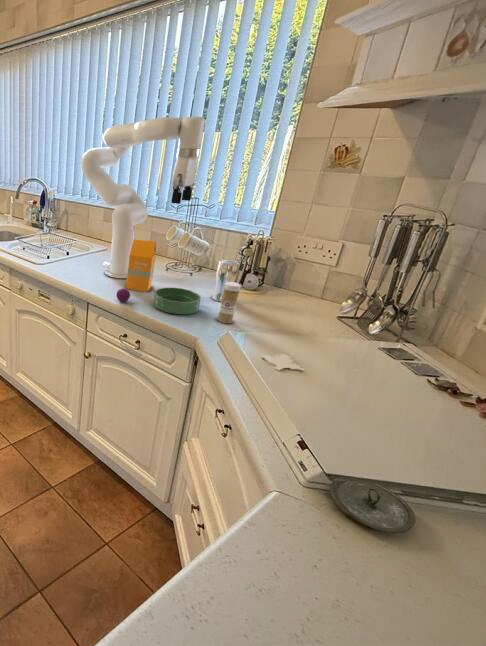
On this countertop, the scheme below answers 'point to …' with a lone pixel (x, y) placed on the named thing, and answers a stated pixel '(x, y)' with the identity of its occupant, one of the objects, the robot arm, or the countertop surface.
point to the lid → (373, 506)
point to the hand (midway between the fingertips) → (180, 201)
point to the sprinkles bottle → (228, 302)
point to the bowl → (176, 300)
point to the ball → (123, 295)
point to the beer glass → (225, 276)
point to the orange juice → (141, 265)
